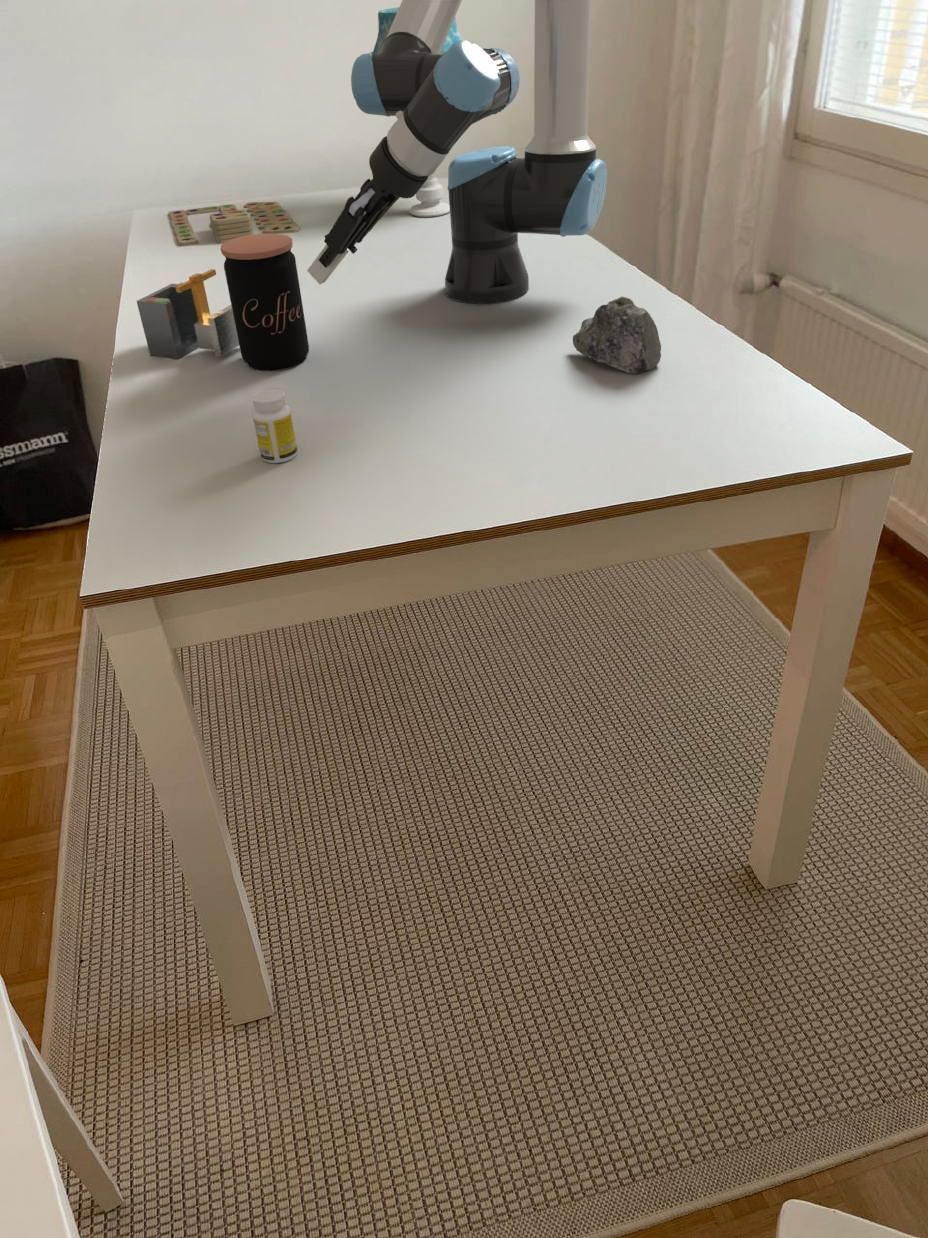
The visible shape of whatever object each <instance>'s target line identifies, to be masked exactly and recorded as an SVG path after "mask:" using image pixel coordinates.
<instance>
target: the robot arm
mask: <svg viewBox="0 0 928 1238" xmlns="http://www.w3.org/2000/svg"><path fill="white" fill-rule="evenodd" d="M461 3H462V0H402V1H401V3H400V5H399V9H398V11H397V14H396V16H395V18H394V21H393V23H392V25H391V28H390V30H389V32H388V35H387V37H386V39H385V41H384V43H383V45H382V48H381V50H380V52H379V53H375V52H373V51H371V52H369V53H368V52H366V53H362V54H361V55H359V56H357V58H356V59H355V60H354V62H353V64H352V65H353V66H352V69H351V75H350V83H351V85H350V86H351V91H352V95H353V99H354V100H355V103H356V106H357V107H358V108H359V110H361V112H363V113H365V114H367V115H373V116H385V117H396V121H395V122H394V123H393V124H392V126H391V127H390V129H389V130H388V131H387V134H386V136H384V137H382V138H381V140H380V142H379V143H378V144H377V146H375V149H374V150H373V152H372V153H371V154H370V156H369V159H368V162H369V169H370V170H371V174H372V179H370V178H368V179H366V180H365V181H364V182H363V184H362V185H361V186H360V191H359V192H358V194H357V195H356V197H354V196H349V198H348V199H347V200H346V202H345V203H344V204H345V205H344V207H343V209H342V211H341V212H340V214H339V216H338V218H337V219H336V220H335V223H334V224H333V225H332V228H331V229H330V230H329V232H328V233H326V235H324V242H323V243H325V246H324V247H323V249H322V250H321V251H320V252H319V254H318V255H317V256H316V258H315V259H314V261H312V263H311V265H310V266H309V267H308V269H307V270H306V271H307V272H308V274H309V275H310V276H311V277H312V278H313V280H315V281H316V282H317V284H318V285H322V284H324V283H326V282H327V281H328V279H329V278H330V276H331V275H332V274H333V273H334V271H335V270H336V269H337V267H338V266H339V265H340V263H341V262H342V261H343V260H344V258H345V257H346V255H347V254H348V253H349V251H350V252H351V254H355V253H356V252H357V251H358V248H357V247H356V246H355V245H356V244H359V243H361V242H362V241H363V239H364V238H365V237H366V236H367V234H368V233H369V232H370V231H371V230H372V229H373V228H374V227H375V226H376V225H377V224H378V222H379V221H380V220H381V219H382V217H384V215H385V214H386V213H387V212H388V211H389V210H390V209H391V207H392V206H394V204H395V203H396V202H397V201H398V200H399V199H400V198H401V199H411V198H414V197H415V196H416V193H417V192H418V190H419V189H420V188H421V187H422V185H423V184H424V183H425V182H426V180H427V179H428V176H430V175H431V174H433V172H434V171H435V170H436V171H437V169H438V168H437V167H438V166H439V165H440V163H441V162H442V161H443V159H444V158H445V159H446V158H447V156H448V155H449V153H450V151H451V150H452V148H453V147H454V146H455V145H456V143H457V142H458V141H459V140H460V138H461V137H462V136H463V135H464V133H465V132H466V131H467V130H468V129H469V128H470V127H471V126H473V124H475V123H477V122H479V121H482V120H483V119H485V118H487V117H490V116H492V115H496V114H498V113H501V112H502V111H503V110H505V109H506V108H507V107H508V106H509V105H510V104H511V103H512V102H513V101H514V100H515V98H516V97H517V94H518V92H519V89H520V83H521V82H520V81H521V77H520V71H519V68H518V65H517V63H516V61H515V60H514V58H513V57H512V56H511V55H510V54H509V53H508V52H507V51H505V50H503V49H501V48H496V47H493V48H481V47H480V46H479V45H477V44H476V43H474V42H470V41H468V40H467V39H462V40H458V41H456V42H455V43H453V44H452V46H451V47H450V48H449V49H448V50H447V52H442V53H440V52H441V49H442V47H443V45H444V42H445V40H446V37H447V35H448V33H449V30H450V28H451V25H452V23H453V21H454V18H456V16H457V13H458V11H459V8H460V6H461ZM591 22H592V0H534V62H533V64H534V69H533V70H534V72H533V73H534V75H533V76H534V78H533V79H534V81H533V84H534V88H533V91H534V93H533V94H534V95H533V97H534V98H533V103H534V105H533V137H532V139H530V141H529V142H528V144H526V145H525V147H524V157H523V158H521V157H518V153H517V151H516V148H515V147H514V146H505V145H502V146H495V147H486V148H483V149H482V148H481V149H477V150H473V151H469V152H467V153H464V154H460V155H458V156H457V157H456V156H455V158H453V159H452V160H451V161H450V163H449V165H448V169H447V170H448V171H447V175H448V176H447V178H448V179H447V182H448V183H447V190H448V202H449V203H448V204H449V205H450V212H449V217H450V231H451V233H450V234H451V253H450V257H449V260H448V265H447V269H446V272H445V273H446V274H445V276H444V290H445V291H444V292H445V295H446V296H447V297H448V298H450V299H452V300H455V301H456V302H461V303H469V304H492V303H493V304H494V303H499V302H500V303H501V302H505V301H506V302H507V301H509V300H513V299H516V298H520V297H521V296H523V295H525V294H526V293H527V292H528V291H529V286H530V285H529V283H530V282H529V280H530V279H529V273H528V270H527V267H526V265H525V264H526V263H525V262H524V259H523V256H522V252H521V250H520V246H519V237H518V234H534V235H535V234H537V235H538V234H539V235H556V236H561V237H563V238H564V237H567V236H585V235H586V234H588V233H589V232H590V231H592V230H593V229H594V227H595V226H596V223H597V222H598V219H599V216H600V214H601V211H602V208H603V205H604V201H605V197H606V191H607V190H606V189H607V182H608V172H607V168H608V167H607V165H606V162H605V161H604V160H602V159H600V158H596V157H597V146H596V144H595V143H594V142H593V141H592V140H591V138H589V135H588V120H589V119H588V118H589V115H588V114H589V85H590V59H591V56H590V52H591V24H592V23H591ZM445 159H444V160H445ZM443 162H444V161H443ZM443 162H442V163H443ZM440 166H441V165H440ZM440 166H439V167H440ZM436 168H437V169H436ZM436 171H435V172H436ZM348 250H349V251H348Z"/></svg>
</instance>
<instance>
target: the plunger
mask: <svg viewBox="0 0 928 1238" xmlns="http://www.w3.org/2000/svg"><path fill="white" fill-rule="evenodd" d="M216 275H217V271H216V269H214V268H213V269H208V270H207V271H205V272H203V273H195V274H193V275H190V276H189V277H188V279H189V280H187V281H185V282H182V283H183V284H181V285H179V286H177V287H176V291H177V292H179V293H181V292H183V291H185V290H187V289H189V288H191V290H192V294H193V299H194V303H195V308H196V312H197V317H198V322H197V323H195V324H194V327H195V331H196V336H197V340H198V345H199V348H198V349H200V350H201V349H203V350H209V351H214V354H215V356H218V357H219V356H220V357H222V356H224V355H226V354H227V353H229V352H231V351H232V350H234V349H236V348H237V347H240V346H239V341H238V336H237V331H236V326H235V321H234V316H233V311H232V305H231V304H230V305H228V306H226V307H224V308H222V309H221V310H219V311H218V312H217V311H216V312H215V313H213V314H211V312H210V307H209V303H208V296H207V292H206V287H205V283H204V282H205V281H208V280H209V279H211V278H213V277H214V276H216Z"/></svg>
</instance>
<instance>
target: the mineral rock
mask: <svg viewBox="0 0 928 1238" xmlns="http://www.w3.org/2000/svg"><path fill="white" fill-rule="evenodd" d="M579 328H580V329H579V331H578V332H576V333H575V334H573V336H572V345H573V347H574V348H575V349H576V351H577V352H579V353H580V354H582V355H583V356H586V358H589V359H591V360H592V361H595V362H597V363H604V364H605V365H607V366H609V367H612V368H614V369H617V370H619V371H624V372H625V373H633V374H634V375H637V374H640V373H642V372H643V371H652V370H653V369H654V368H655V367H657V366H658V365H659V363H660V362H661V358H662V352H661V351H662V344H661V340H660V335H659V331H658V328H657V325H656V323H655V320H654V319H653V317H652V316H651V315H650V313H649V312H648V310H647V309H646V308H643V307H639V306H637V305H636V304H635V302H634V301H633V300H632V299H631V298H629V297H626V296H620V297H618V298H615V299H613V300H611V301H609V302H607V304H602V305H600V306H598V308H597V309H596V310H595V312H594V315H593V317H588V318H586V319H583V321H582V322H581V325H580V327H579Z"/></svg>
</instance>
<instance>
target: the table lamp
mask: <svg viewBox="0 0 928 1238" xmlns="http://www.w3.org/2000/svg"><path fill="white" fill-rule="evenodd" d="M399 7H400V6H399ZM399 7H391V8H384V9H380V10H378V12H377V22H378V33H377V38H376V42H375V45H374V48H373V51H372V52H375V53H379V52H380V50H381V48H382V45H383V43H384V41H385V39H386V37H387V35H388V32H389V30H390V28H391V25H392V23H393V21H394V18H395V16H396V14H397V11H398V9H399ZM458 40H463V38H462V36H461V35H460V32H459V29H458V27H457V21H456V17H455V18H454V21H453V23H452V25H451V28H450V30H449V33H448V35H447V37H446V40H445V42H444V45H443V47H442V49H441V52H440V53H442V52H447V50H448V49H449V48H450V47H451V46H452V44H453V43H455V42H456V41H458ZM445 159H446V157H445V158H444V159H443V161H442V162H441V163H440V165H439V166H438V167H440V166H441V165H443V163H444V162H445ZM438 167H437V168H436V170H435V171H434V172H433V174H431V175H430V176H428V179H427V180H426V182H425V183H424V184H423V185H422V187H421V188H420V189H419V190H418V192H417V193H416V194H415V198H416V200H417V201H419V202H420V203H417V204H415V205H412V206H411V207H410V208H409V213H410V214H411V215H413V216H414V217H419V218H433V217H435V218H436V217H439V216H444V215H447V214H450V205H449V203H448V202H444V201H443V202H442V201H441V200H442V199H443V198H444V186H443V185H442V184H441V183H439V182H438V178H437V177H436V171H437V169H438Z"/></svg>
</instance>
